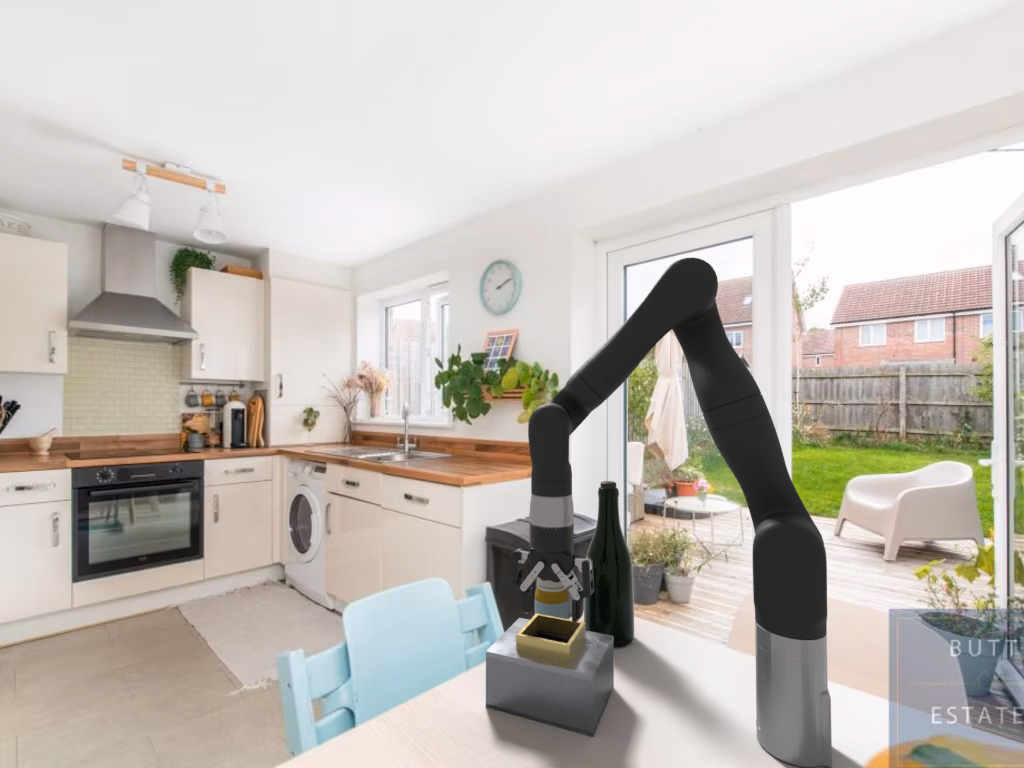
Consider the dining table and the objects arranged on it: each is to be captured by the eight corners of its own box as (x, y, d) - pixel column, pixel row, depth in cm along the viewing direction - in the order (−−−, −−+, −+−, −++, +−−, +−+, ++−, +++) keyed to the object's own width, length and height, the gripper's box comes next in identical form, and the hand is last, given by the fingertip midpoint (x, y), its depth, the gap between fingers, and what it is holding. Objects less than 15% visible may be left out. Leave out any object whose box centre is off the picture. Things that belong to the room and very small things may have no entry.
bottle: (568, 638, 106) (568, 566, 107) (569, 655, 99) (568, 578, 100) (535, 636, 107) (535, 565, 107) (533, 653, 100) (533, 577, 101)
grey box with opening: (613, 688, 88) (613, 621, 88) (593, 736, 75) (592, 658, 76) (519, 665, 95) (519, 604, 96) (485, 706, 82) (485, 635, 83)
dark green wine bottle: (584, 648, 102) (584, 485, 103) (583, 625, 112) (583, 477, 113) (637, 651, 101) (636, 486, 102) (631, 628, 111) (630, 478, 112)
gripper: (597, 519, 87) (598, 614, 86) (521, 511, 92) (521, 601, 92) (586, 529, 80) (586, 633, 79) (504, 520, 86) (504, 617, 85)
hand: (551, 615), depth 86 cm, fingers open, 8 cm apart
